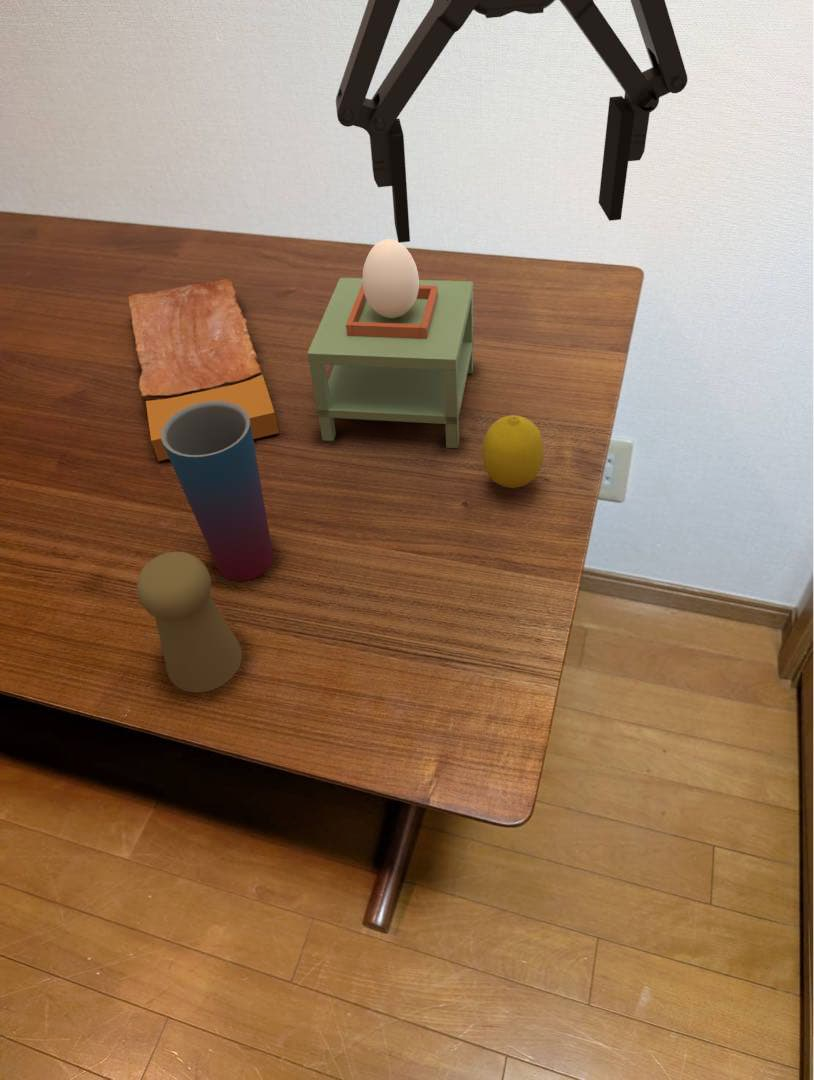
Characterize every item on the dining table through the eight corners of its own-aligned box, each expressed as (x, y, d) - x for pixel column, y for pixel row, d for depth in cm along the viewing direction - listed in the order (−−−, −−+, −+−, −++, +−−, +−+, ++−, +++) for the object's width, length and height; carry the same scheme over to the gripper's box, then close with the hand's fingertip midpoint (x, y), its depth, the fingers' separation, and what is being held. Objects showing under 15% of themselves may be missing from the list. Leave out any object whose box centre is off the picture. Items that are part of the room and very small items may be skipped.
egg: (414, 331, 79) (410, 256, 73) (360, 328, 80) (351, 253, 74) (425, 302, 83) (421, 228, 77) (373, 299, 84) (365, 226, 78)
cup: (235, 601, 71) (191, 469, 60) (192, 560, 74) (143, 428, 64) (298, 559, 74) (267, 426, 63) (254, 521, 77) (218, 389, 67)
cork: (192, 622, 70) (155, 531, 62) (255, 641, 68) (226, 549, 60) (152, 680, 66) (107, 590, 58) (218, 701, 64) (181, 611, 56)
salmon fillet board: (154, 464, 84) (145, 439, 82) (134, 317, 104) (126, 293, 102) (281, 435, 86) (275, 409, 84) (237, 296, 106) (231, 272, 104)
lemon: (477, 501, 78) (477, 434, 72) (487, 463, 81) (488, 396, 75) (536, 508, 76) (541, 441, 71) (544, 469, 80) (549, 401, 74)
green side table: (473, 367, 92) (472, 270, 84) (457, 448, 83) (455, 348, 75) (350, 362, 95) (338, 266, 86) (322, 440, 85) (305, 342, 77)
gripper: (749, -248, 42) (676, 178, 57) (253, -202, 41) (314, 215, 56) (815, -238, 36) (715, 228, 52) (247, -186, 36) (316, 269, 51)
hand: (506, 222), depth 54 cm, fingers open, 13 cm apart
